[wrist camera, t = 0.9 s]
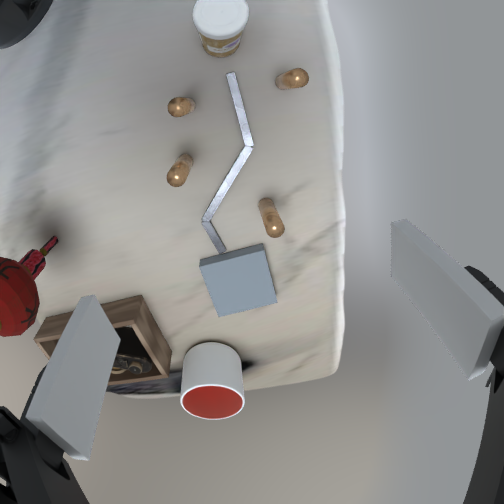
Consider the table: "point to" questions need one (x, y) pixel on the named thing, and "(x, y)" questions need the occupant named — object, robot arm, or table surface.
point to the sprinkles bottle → (220, 24)
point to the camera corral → (119, 316)
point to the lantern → (21, 290)
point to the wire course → (185, 162)
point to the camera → (130, 353)
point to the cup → (212, 381)
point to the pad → (238, 280)
